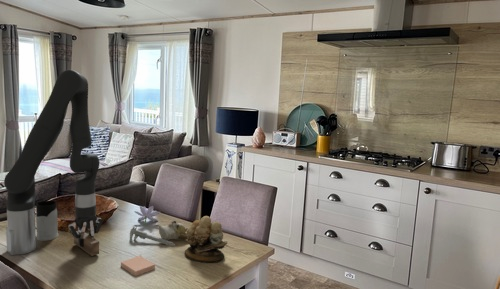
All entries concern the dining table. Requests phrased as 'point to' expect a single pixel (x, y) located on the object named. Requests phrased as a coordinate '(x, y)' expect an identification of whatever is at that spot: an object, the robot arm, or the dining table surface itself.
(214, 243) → the owl figurine
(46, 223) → the glass holder
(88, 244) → the walnut bar
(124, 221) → the dining table surface
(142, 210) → the water lily
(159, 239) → the caliper
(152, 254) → the dining table surface
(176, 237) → the ceramic sculpture
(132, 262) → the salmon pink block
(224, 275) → the dining table surface
